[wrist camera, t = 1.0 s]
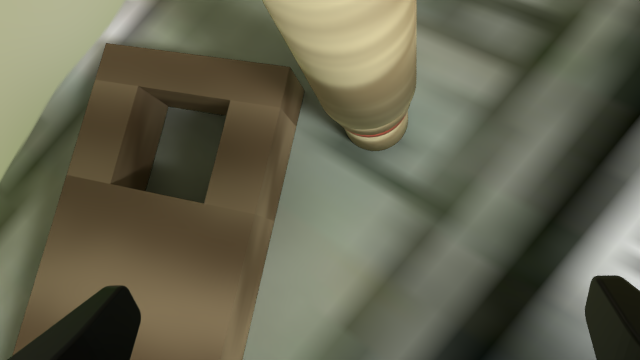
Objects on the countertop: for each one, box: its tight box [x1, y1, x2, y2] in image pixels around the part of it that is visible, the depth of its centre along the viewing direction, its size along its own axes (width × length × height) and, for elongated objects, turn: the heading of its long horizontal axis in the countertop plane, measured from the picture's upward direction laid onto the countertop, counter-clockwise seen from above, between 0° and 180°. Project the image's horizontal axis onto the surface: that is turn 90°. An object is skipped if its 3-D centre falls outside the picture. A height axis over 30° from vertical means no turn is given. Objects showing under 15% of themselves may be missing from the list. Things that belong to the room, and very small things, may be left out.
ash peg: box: [262, 0, 416, 151], centre depth 17 cm, size 4×4×14 cm
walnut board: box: [12, 43, 304, 360], centre depth 23 cm, size 24×10×3 cm, turn 168°
